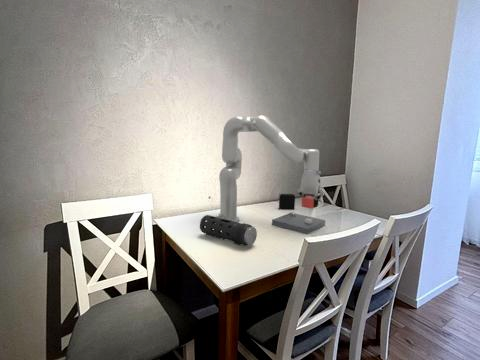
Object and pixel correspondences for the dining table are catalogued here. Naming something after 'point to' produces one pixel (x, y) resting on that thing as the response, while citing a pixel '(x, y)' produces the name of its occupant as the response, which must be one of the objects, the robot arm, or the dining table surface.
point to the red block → (308, 202)
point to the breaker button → (308, 220)
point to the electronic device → (287, 201)
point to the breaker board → (298, 223)
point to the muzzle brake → (228, 230)
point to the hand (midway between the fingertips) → (309, 205)
